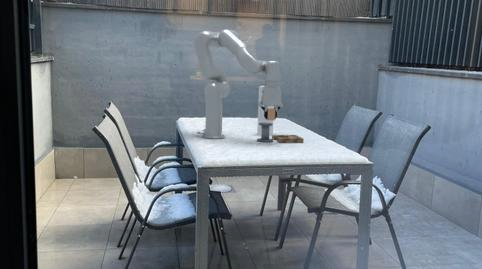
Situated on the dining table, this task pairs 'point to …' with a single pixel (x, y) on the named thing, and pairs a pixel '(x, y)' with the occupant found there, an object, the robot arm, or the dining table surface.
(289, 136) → the board
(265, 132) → the spool
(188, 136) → the dining table surface
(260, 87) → the white tall cylinder
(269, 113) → the tab
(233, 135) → the dining table surface
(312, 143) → the dining table surface
